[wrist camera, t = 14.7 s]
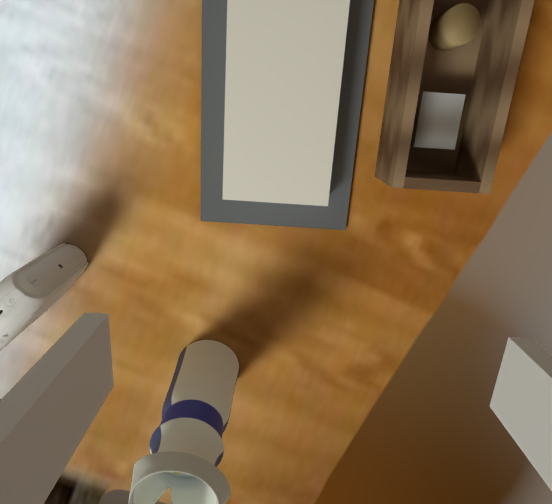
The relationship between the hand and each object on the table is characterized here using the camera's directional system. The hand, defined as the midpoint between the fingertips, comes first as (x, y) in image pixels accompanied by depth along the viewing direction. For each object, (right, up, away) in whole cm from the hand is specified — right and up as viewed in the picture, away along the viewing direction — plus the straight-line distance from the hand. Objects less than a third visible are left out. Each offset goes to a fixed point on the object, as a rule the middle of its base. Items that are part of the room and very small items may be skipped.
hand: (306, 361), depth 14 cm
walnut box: (+15, +21, +27) cm, 38 cm away
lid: (0, +20, +27) cm, 34 cm away
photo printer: (-27, +1, +34) cm, 44 cm away
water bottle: (-9, -11, +38) cm, 41 cm away
